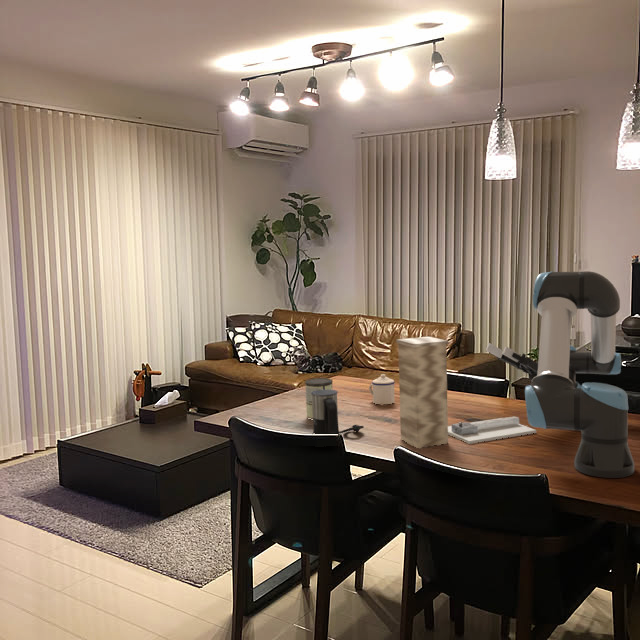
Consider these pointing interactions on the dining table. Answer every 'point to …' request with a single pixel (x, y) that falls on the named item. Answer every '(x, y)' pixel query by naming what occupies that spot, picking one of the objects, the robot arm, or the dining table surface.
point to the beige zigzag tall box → (423, 391)
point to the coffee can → (313, 386)
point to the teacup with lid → (382, 390)
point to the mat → (493, 433)
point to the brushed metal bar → (483, 425)
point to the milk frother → (327, 413)
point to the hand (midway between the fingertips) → (495, 348)
